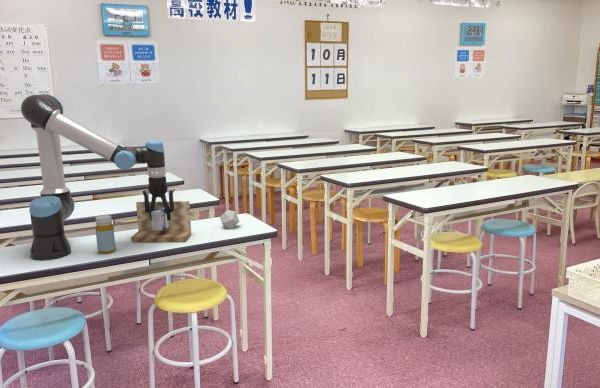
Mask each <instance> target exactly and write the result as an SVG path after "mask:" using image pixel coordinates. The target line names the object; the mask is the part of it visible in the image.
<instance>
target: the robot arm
mask: <svg viewBox="0 0 600 388" xmlns="http://www.w3.org/2000/svg"><path fill="white" fill-rule="evenodd" d="M20 112H21V115H22V117H23V118H24V120H25V121H27V122H29V123H30V128H31V129H32V130H33V131H34V132H36V133H35V134H36V142H37V148H38V149H37V150H38V157H39V163H40V164H39V165H40V171H41V179H42V186H43V188H42V189H41V190H40V192H39V194H40V195H39V197H36V198H34V199H32V200H31V201H30V203H29V210H28V211H29V215H30V221H31V222H30V223H31V224H30V225H31V229H32V230H31V231H32V238H33V239H32V241H31V242H32V243H31V248H30V250H29V251H30V252H29V253H30V258H31V259H32V260H37V261H49V260H55V259H60V258H63V257H66V256H68V255H69V254H71V253H72V247H71V244H70V242H69V240H68V238H67V236H66V234H65V225H64V221H66V220H67V219H69V218H70V216H72V214H73V212H74V210H75V207H76V206H75V205H76V204H75V200H74V198H73V196H71V195H72V194H71V190H70V188H69V187H67V186H66V180H65V171H64V164H63V163H64V162H63V154H62V147H61V145H62V144H61V139H60V138H61V137H63V138H65V139H67V140H70V141H71V142H73V143H75V144H77V145H78V146H81V147H83V148H84V149H86V150H88V151H90V152H92V153H94V154H96V155H97V156H100V157H102V158H103V159H106V160H108V161H109V162H111V163H113V164H114V165H115V166H116V167H117V168H118V169H120V170H125V171H127V170H130V169H132V168H133V167H134V166H135V165H139V164H142V165H143V164H146V165H147V176H148V189H144V190H143V191H142V195H143V198H144V199H143V202H145V212H146V213H149V214H150V220H151V221H152V215H151V212H152V211H154V207H155V202H156V201H157V198H160V199H161V201H162V202H163V205H164V207H165V210H166V213H165V224H166V228H168V227H169V220H170V219H171V216H170V213H171V212H173V211H174V201H175V200H174V193H175V192H174V191H175V190H174V189H170V188H168V185H167V177H166V175H167V173H166V161H165V160H166V159H165V158H166V157H165V149H164V143H163V142H162V141H161V140H148V141H146V142H145V144H144V145H143V146H121V145H120V144H118V143H116V142H114V141H113V140H111V139H109V138H107V137H105V136H103V135H101V134H99V133H98V132H96V131H94V130H91V129H90V128H89V127H86V126H85V125H83V124H82V123H80V122H79V123H78V122H77V121H75V120H74V119H71V118H70V117H68V116H66V115H65V114H64V106H63V104H62V102H61V101H60V100H59V99H58V98H57V97H56V96H53V95H50V94H46V93H43V94H32V95H29V96H26V98H25V99H23V101H22V102H21V104H20ZM60 136H61V137H60ZM166 193H167V194H166ZM149 194H150V195H151V206H150V209H149V201H150V197H149ZM166 195H168V200H167V196H166ZM167 201H169V203H170V208H169V205H168V202H167Z"/></svg>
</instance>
